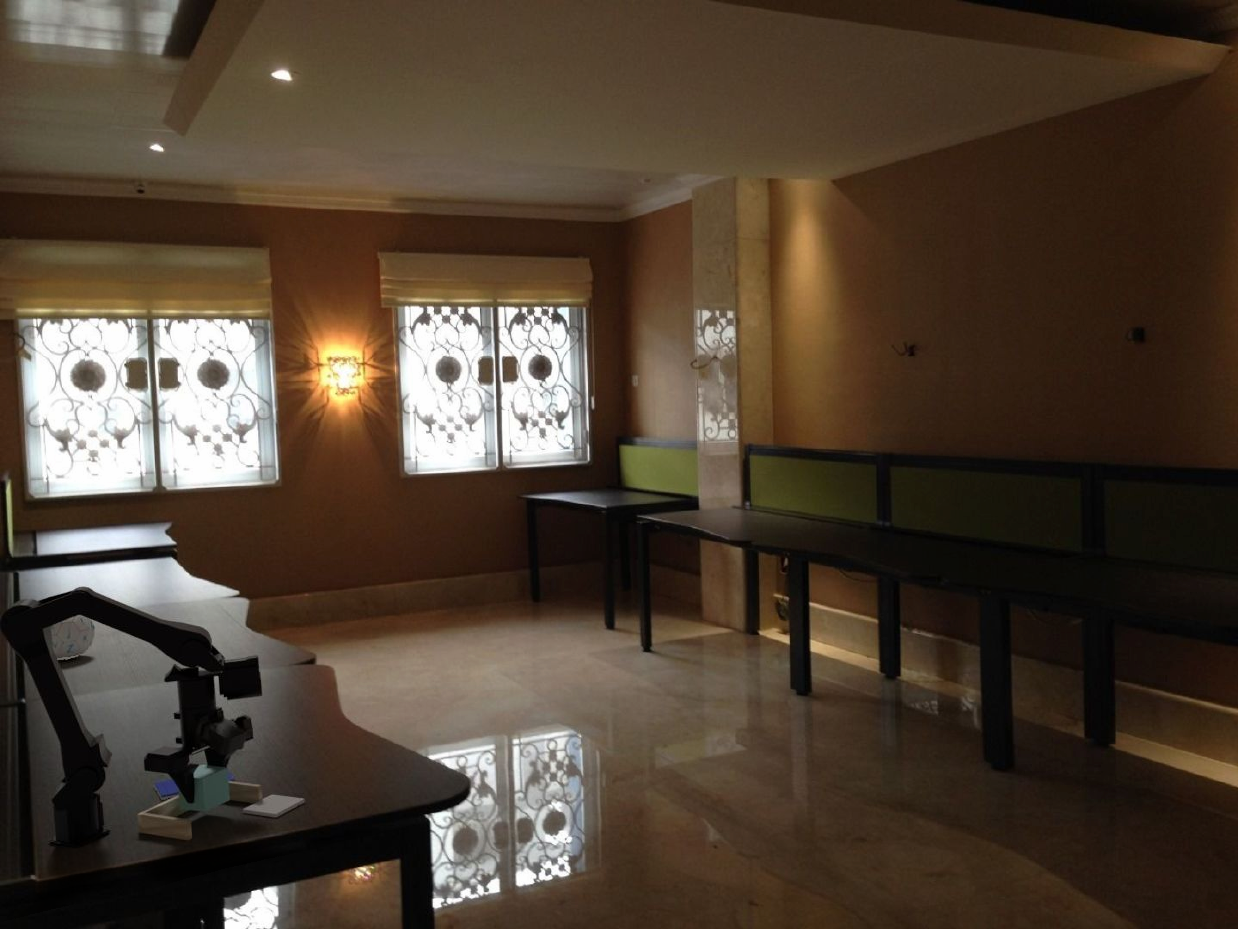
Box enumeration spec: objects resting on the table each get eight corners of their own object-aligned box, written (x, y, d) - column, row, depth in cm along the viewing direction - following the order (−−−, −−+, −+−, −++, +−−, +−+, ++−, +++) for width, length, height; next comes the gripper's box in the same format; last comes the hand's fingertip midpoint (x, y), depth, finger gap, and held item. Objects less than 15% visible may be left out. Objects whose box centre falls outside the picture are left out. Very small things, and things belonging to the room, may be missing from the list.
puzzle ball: (42, 657, 309) (38, 604, 308) (100, 650, 314) (96, 599, 313) (31, 669, 295) (26, 614, 294) (92, 662, 299) (87, 608, 298)
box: (188, 840, 171) (186, 821, 171) (138, 832, 175) (137, 814, 175) (262, 802, 186) (261, 785, 186) (215, 795, 191) (214, 778, 190)
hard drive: (224, 766, 203) (153, 782, 196) (234, 778, 196) (161, 795, 189) (225, 774, 203) (154, 790, 196) (235, 787, 196) (162, 804, 189)
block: (204, 812, 177) (202, 779, 176) (179, 808, 179) (177, 775, 179) (229, 800, 182) (227, 767, 181) (204, 796, 184) (202, 764, 184)
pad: (276, 817, 179) (275, 814, 179) (243, 812, 182) (243, 809, 182) (304, 802, 185) (304, 798, 185) (272, 797, 188) (272, 794, 188)
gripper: (191, 725, 168) (198, 824, 169) (275, 692, 185) (281, 782, 186) (137, 719, 172) (145, 815, 173) (224, 688, 189) (231, 775, 190)
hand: (204, 796), depth 180 cm, fingers closed on block, 5 cm apart
